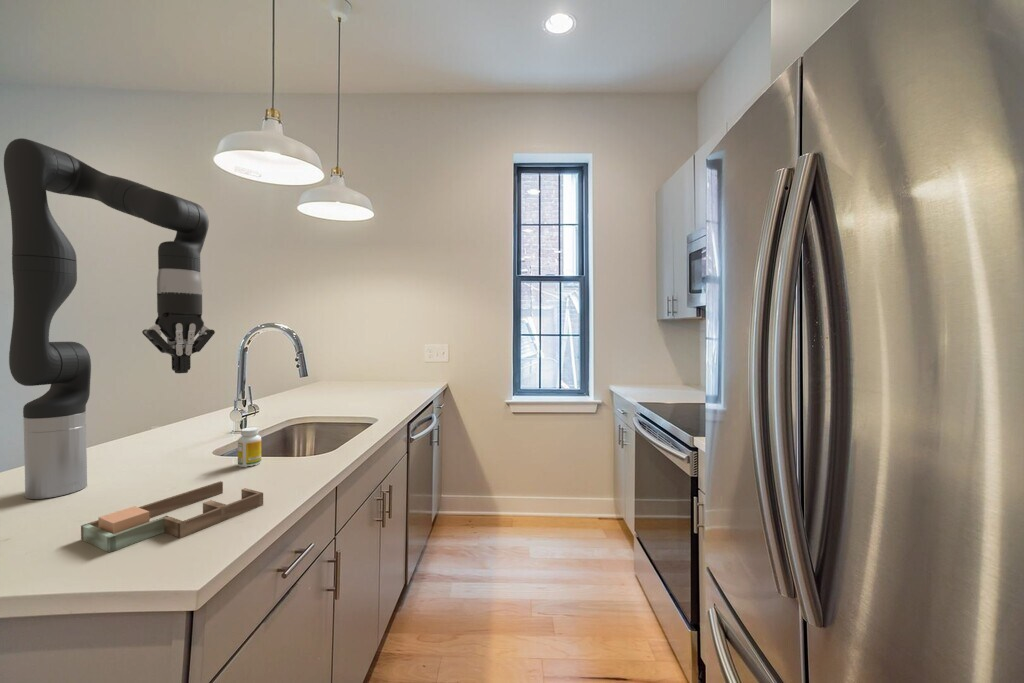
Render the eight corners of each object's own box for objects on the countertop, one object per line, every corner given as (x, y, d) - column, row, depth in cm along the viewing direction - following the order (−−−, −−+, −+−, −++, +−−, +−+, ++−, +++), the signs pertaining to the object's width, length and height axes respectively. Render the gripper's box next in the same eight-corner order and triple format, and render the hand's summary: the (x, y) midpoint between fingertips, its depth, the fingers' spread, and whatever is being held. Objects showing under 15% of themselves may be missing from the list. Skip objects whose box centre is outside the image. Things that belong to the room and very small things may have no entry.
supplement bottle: (233, 467, 107) (233, 431, 107) (244, 461, 113) (244, 426, 112) (255, 467, 108) (254, 431, 108) (265, 460, 113) (265, 426, 113)
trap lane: (81, 539, 71) (80, 525, 71) (220, 492, 91) (220, 481, 91) (126, 559, 65) (125, 544, 65) (264, 504, 86) (264, 492, 86)
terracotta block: (98, 540, 71) (98, 517, 71) (134, 527, 76) (134, 506, 75) (113, 546, 69) (113, 523, 69) (149, 533, 73) (149, 511, 73)
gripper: (203, 295, 95) (204, 369, 96) (131, 289, 83) (133, 375, 83) (223, 294, 92) (224, 371, 93) (152, 288, 80) (153, 377, 80)
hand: (181, 372), depth 88 cm, fingers closed
